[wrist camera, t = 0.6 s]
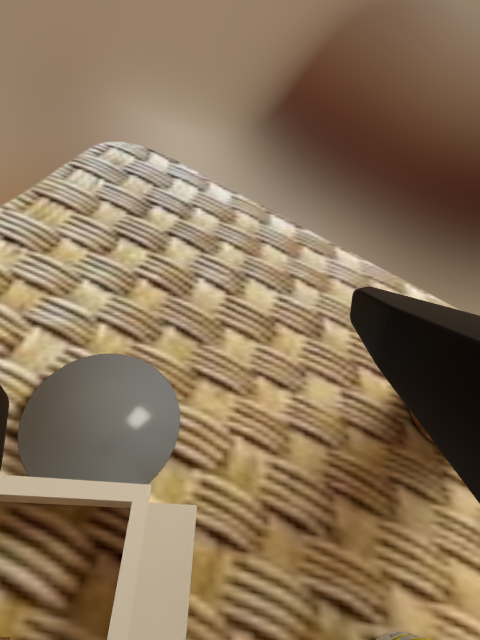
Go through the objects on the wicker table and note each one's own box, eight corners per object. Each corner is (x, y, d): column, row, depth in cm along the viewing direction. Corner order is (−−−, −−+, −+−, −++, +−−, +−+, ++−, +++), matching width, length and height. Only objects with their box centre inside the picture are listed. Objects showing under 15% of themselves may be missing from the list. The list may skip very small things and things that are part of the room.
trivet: (168, 510, 19) (169, 508, 19) (-7, 501, 18) (-12, 499, 17) (185, 368, 24) (187, 363, 24) (52, 350, 23) (50, 344, 22)
